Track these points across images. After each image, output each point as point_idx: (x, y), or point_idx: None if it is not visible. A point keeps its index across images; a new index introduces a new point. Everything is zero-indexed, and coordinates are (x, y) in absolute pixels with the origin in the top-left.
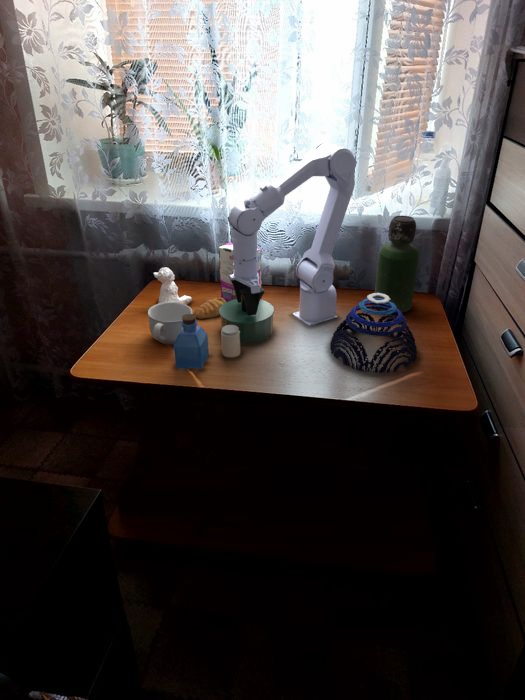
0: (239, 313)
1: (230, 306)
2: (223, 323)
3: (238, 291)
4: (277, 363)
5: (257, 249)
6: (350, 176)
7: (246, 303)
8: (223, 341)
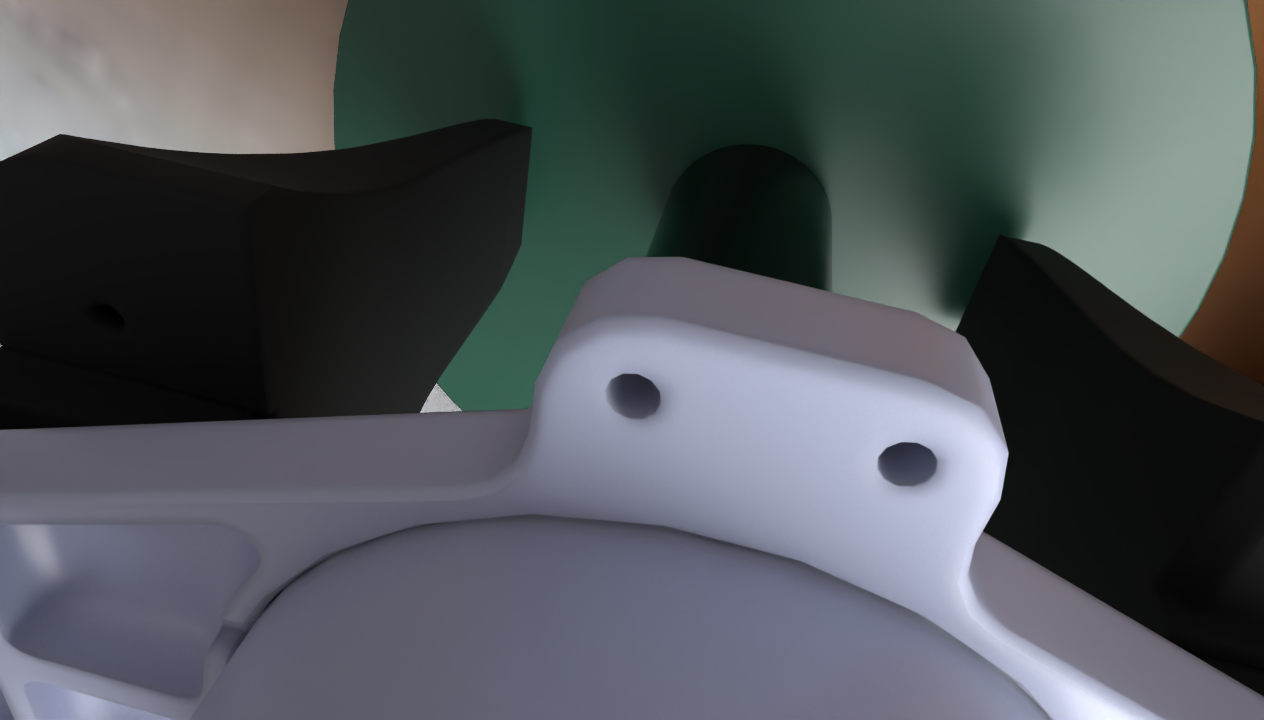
0: (696, 58)
1: (1042, 63)
2: None
3: (1050, 363)
4: (84, 19)
5: None
6: None
7: (313, 153)
8: None
